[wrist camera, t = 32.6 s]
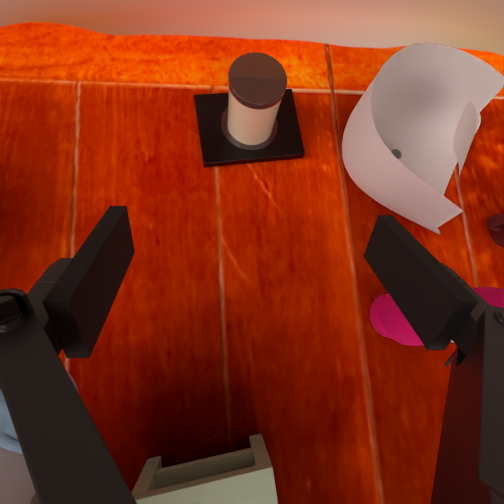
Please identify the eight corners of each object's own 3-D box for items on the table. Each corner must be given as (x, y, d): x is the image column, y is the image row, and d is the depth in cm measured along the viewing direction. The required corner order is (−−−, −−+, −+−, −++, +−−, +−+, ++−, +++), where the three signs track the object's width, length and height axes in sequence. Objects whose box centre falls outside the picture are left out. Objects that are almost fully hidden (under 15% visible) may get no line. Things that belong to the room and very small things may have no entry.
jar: (229, 147, 42) (232, 105, 34) (223, 104, 44) (224, 53, 35) (276, 144, 43) (291, 102, 34) (269, 101, 44) (282, 51, 36)
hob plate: (204, 167, 43) (203, 163, 41) (194, 100, 45) (193, 94, 43) (302, 158, 45) (305, 153, 44) (289, 94, 47) (291, 88, 45)
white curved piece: (361, 85, 48) (405, 15, 37) (463, 139, 49) (539, 87, 37) (312, 184, 44) (345, 141, 33) (424, 243, 44) (497, 221, 33)
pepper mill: (366, 287, 42) (493, 270, 23) (413, 292, 43) (577, 281, 23) (364, 339, 41) (499, 368, 21) (413, 344, 41) (587, 377, 22)
